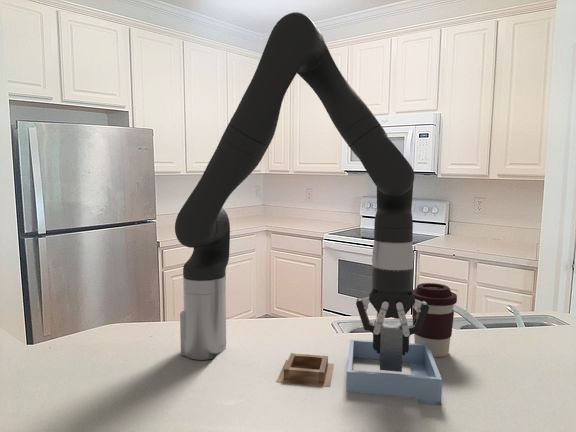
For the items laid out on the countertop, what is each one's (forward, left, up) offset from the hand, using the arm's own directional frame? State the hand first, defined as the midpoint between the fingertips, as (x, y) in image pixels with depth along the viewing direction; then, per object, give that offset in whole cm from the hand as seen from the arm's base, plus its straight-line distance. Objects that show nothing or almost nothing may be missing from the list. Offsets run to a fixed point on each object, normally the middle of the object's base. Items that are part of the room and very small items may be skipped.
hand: (390, 352), depth 80 cm
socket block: (-16, -2, -5) cm, 17 cm away
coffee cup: (+10, +16, -6) cm, 20 cm away
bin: (0, 0, -5) cm, 5 cm away
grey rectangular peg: (0, 0, -3) cm, 3 cm away
